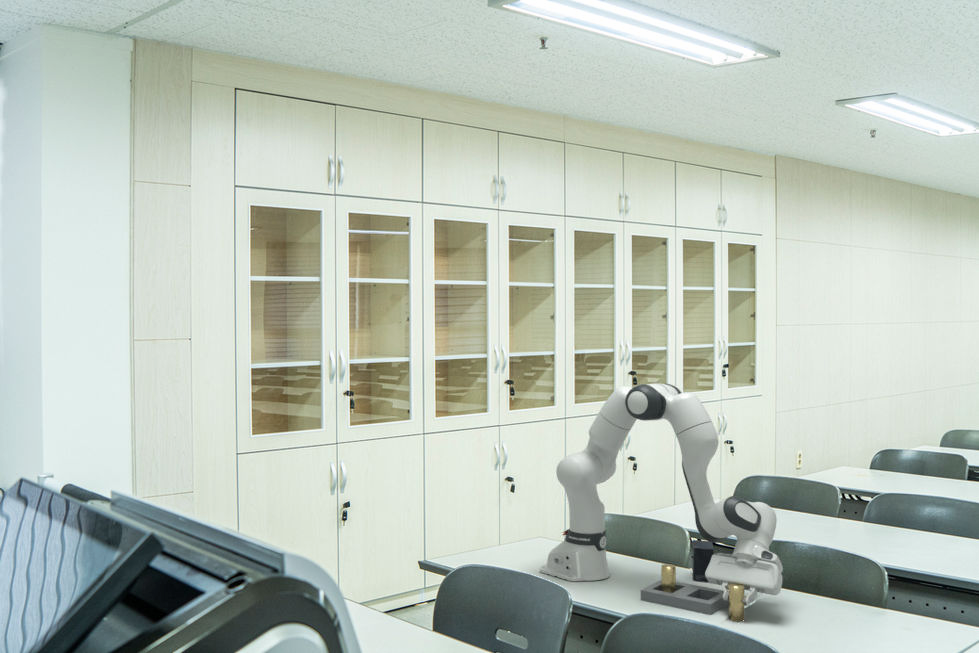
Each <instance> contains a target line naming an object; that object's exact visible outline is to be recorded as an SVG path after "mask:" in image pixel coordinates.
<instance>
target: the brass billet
mask: <svg viewBox="0 0 979 653" xmlns="http://www.w3.org/2000/svg"><path fill="white" fill-rule="evenodd" d="M728 591H729V604H728V620H729V619H730V620H729V621H731V620H732V621H731V622H734V621H737V622H736V623H739V622H738V621H743V620H744V621H746V620H745V618H746V617H745V604H743V602H742V599H743V596H744V595H745V590H744V585H742V584H737V583H732V584H729V590H728ZM744 621H743V622H744Z"/></svg>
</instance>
